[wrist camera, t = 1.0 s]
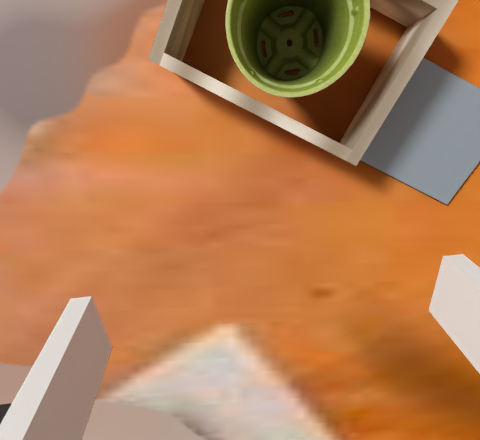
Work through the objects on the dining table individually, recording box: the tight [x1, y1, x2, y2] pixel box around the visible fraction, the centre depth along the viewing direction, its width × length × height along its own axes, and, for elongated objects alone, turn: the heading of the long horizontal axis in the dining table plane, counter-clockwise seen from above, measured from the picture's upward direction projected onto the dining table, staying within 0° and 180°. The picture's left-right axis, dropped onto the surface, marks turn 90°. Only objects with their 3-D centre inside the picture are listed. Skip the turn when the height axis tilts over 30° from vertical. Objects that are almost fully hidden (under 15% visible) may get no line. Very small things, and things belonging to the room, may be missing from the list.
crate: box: [148, 0, 458, 166], centre depth 27 cm, size 19×13×6 cm
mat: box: [360, 58, 480, 205], centre depth 31 cm, size 10×10×1 cm
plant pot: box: [226, 0, 370, 97], centre depth 25 cm, size 9×9×9 cm
